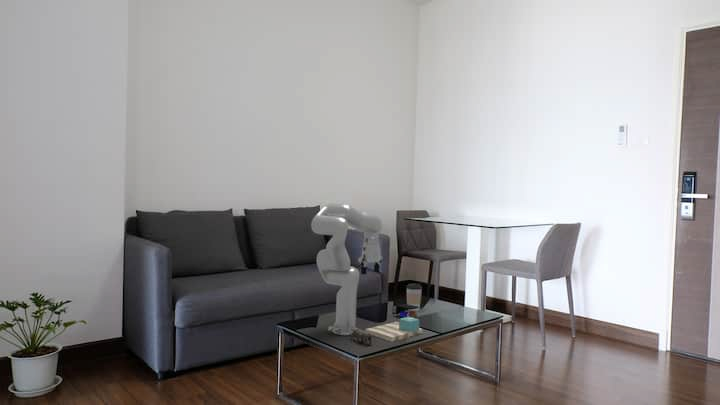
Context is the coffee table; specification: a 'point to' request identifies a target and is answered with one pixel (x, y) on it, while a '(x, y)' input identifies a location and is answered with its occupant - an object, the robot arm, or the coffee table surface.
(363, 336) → the rhino figurine
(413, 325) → the teal drawer cube
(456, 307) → the coffee table surface
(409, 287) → the coffee cup
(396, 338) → the hub board
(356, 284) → the robot arm
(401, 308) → the figurine character
